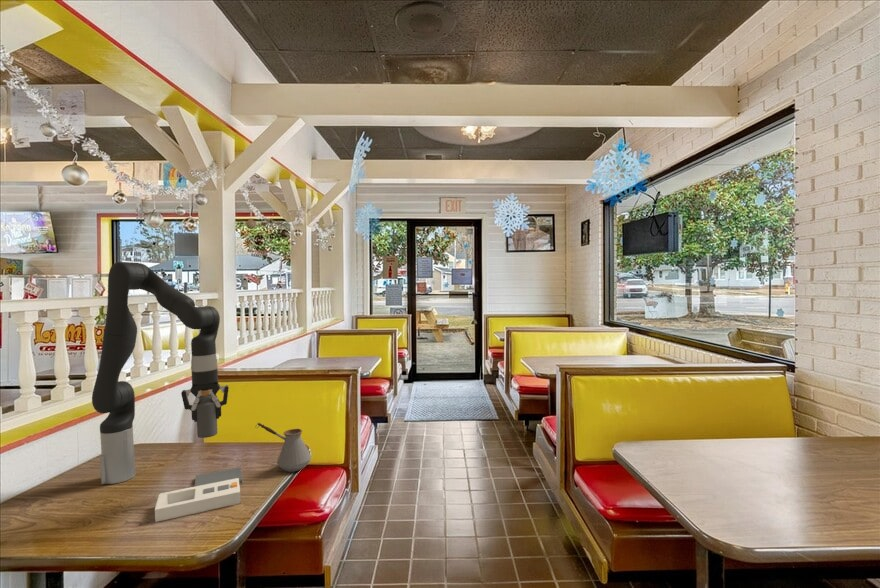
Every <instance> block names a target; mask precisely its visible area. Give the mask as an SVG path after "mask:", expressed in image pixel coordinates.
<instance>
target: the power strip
mask: <svg viewBox="0 0 880 588" xmlns="http://www.w3.org/2000/svg"><path fill="white" fill-rule="evenodd" d="M240 485H241V484H239V478H235V479H230V480H225V481H220V482H215V483H210V484H205V485H200V486H195V485H194V486H195V487H194V486H191V487H186V488H181V489H175V490H171V491H166V492H161V493H159V495H158V496H157V497H158V498H157V500H156V503H155V508H154V517H155V518H154V520H155V523H157V522H163V521H167V520H170V519H175V518H179V517H185V516H189V515H193V514H198V513H203V512H207V511H212V510H216V509H221V508H225V507H229V506H234V505H238V504H239V505H240V504H241V501H242V500H241V487H240Z"/></svg>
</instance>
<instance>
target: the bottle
mask: <svg viewBox="0 0 880 588" xmlns="http://www.w3.org/2000/svg"><path fill="white" fill-rule="evenodd" d="M211 390H212V389H211ZM198 392H199V391H198ZM200 392H201V394H202V396H200V397H198V398H199V402H198V404H197V406H196V414H197V422H196V434H197V437H198V438H200V439H204V438H205V439H208V438H211V437H215V436H216V435H217V434H218V419H217V415H216V404H215V402H214V401H213V400H212V395H209V392H210V390H202V391H200Z"/></svg>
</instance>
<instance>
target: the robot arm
mask: <svg viewBox="0 0 880 588" xmlns="http://www.w3.org/2000/svg"><path fill="white" fill-rule="evenodd" d="M107 281H108V282H107V305H106V306H107V307H106V317H105V325H104V329H103V337H102V344H101V354H100V359H99V366H98V371H97V375H96V379H95V382H94V386H93V390H92V396H91V404H92V406H93V409H94V410H95V411H96V412H97V413H99V414H108V413H109V414H108V415H107V416H106V418H105V419H104V420H103V421H102V422H101V423H100V424H99V433H100V434H99V436H100V438H99V439H100V452H101V453H100V456H99V464H100V465H99V467H100V482H101V485H113V484H119V483H123V482H126V481H129V480H131V479H133V478H134V477H135V476H136V464H135V463H136V461H135V458H136V457H135V445H134V443H135V442H134V429H133V428H134V427H133V426H134V425H133V422H134V420H135V415H136V413H135V412H136V408H135V407H136V404H135V403H136V399H135V398H136V396H135V391H134V388H133V386H132V384H131V383H130V382H128V381H124V380H120V381H119V377H120V374H121V372H122V370H123V368H124V366H125V365H126V363H127V362H128V360H129V358H130V357H131V355H132V354H133V352H134V350H135V347H136V342H137V336H138V327H137V324H136V321H135V319H134V317H133V315H132V313H131V311H130V309H129V305H128V304H129V302H128V300H129V292H130V291H131V290H142V291H145V292H147V293H150V294H152V295H153V296H154V297H155V299H156V302H157V303H158V304H159V305H160V306H161V307H162V308H164V309H165V310H166V311H168V312H170V313H172V314H173V315H175V316H176V317H177V319H178V320H180V322H182V324H183V325H184V326H185V327H187V328H189V329H191V330H199V333H198V334H197V335H196V336H194V337H192V339H191V341H190V345H191V346H190V348H191V359H190V360H191V362H190V371H191V384H192V385H191V388H189V389H183V390H181V392H180V394H181V398H182V399H181V400H182V403H183V406H184V410H186V411H187V410H189V411H191V420H192V421H194V423H197V414H196V406H197V404H198V402H199V398H198V397H200V396H202V394H201V392H200V391H202V390H210V392H209V395H212V400H213V401H214V402H215V404H216V415H217V420H219V419H220V417H222V406H224V405H227V403H228V396H229V385H227V384H226V385H220V384H219V375H218V374H219V373H218V371H219V370H218V365H219V364H218V359H217V358H218V357H217V347H216V340H217V339H216V338H217V336H218V331H219V327H220V322H221V321H220V319H221V318H220V317H221V316H220V313H219V311H218V310H217V309H216V307H213V306H211V305H210V306H209V305H208V306H207V305H206V306H196V303H195V300H193V298H191V297H190V296H188V295H187V294H184V292H181V291H180V290H178V289H177V288H174V287H173V286H171V285H170V284H169V283H167V281H165V280H164V279H162V278H161V277H160V276H159V275H158V274H157V273H156V272H154V271H153V270H152V269H151V268H150V267H149V266H148V265H146V264H144V263H141V262H132V261H131V262H129V261H117V262H114V263H113V264H112V265H111V267H110V268H109V272H108V276H107ZM211 389H212V390H211ZM219 390H221V391H220V392H221V393H222V394H223V398H222V400H221V401H220V400H219V397H218V395H217V393H218V392H219ZM198 391H199V392H198ZM190 394H192V395H193V396H194V397H195V399H194V400H193V403H192V404H190V402H189V398H188V397H189V396H190Z"/></svg>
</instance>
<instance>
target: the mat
mask: <svg viewBox="0 0 880 588" xmlns="http://www.w3.org/2000/svg"><path fill="white" fill-rule="evenodd" d="M235 478H239V485H241V484H240V483H242V484H243V476H242V468H241V466H239V467H233V468H228V469H223V470H217V471H212V472H207V473H206V472H205V473H203V474H202V473H201V474H196V475H195V479H194V485H193V487H195V486H200V485H205V484H210V483H215V482H220V481H225V480H230V479H235Z"/></svg>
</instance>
